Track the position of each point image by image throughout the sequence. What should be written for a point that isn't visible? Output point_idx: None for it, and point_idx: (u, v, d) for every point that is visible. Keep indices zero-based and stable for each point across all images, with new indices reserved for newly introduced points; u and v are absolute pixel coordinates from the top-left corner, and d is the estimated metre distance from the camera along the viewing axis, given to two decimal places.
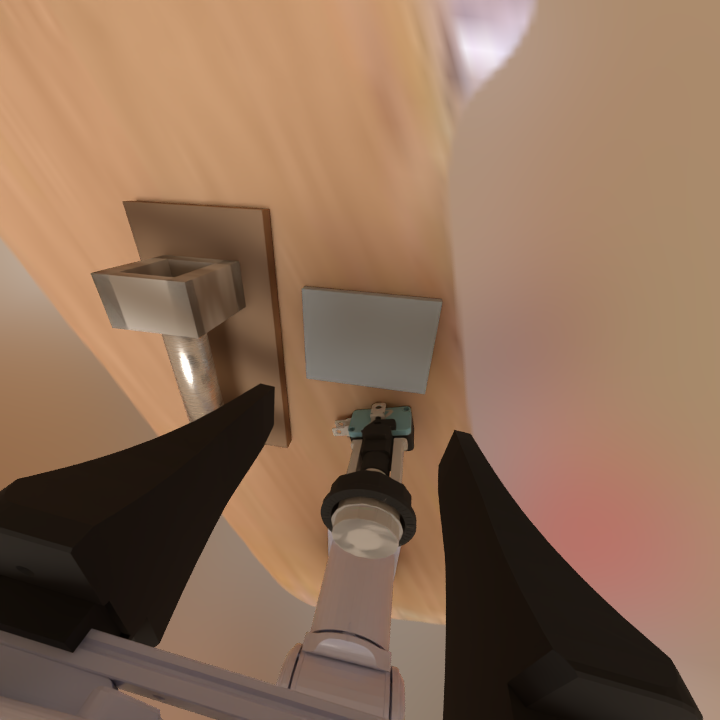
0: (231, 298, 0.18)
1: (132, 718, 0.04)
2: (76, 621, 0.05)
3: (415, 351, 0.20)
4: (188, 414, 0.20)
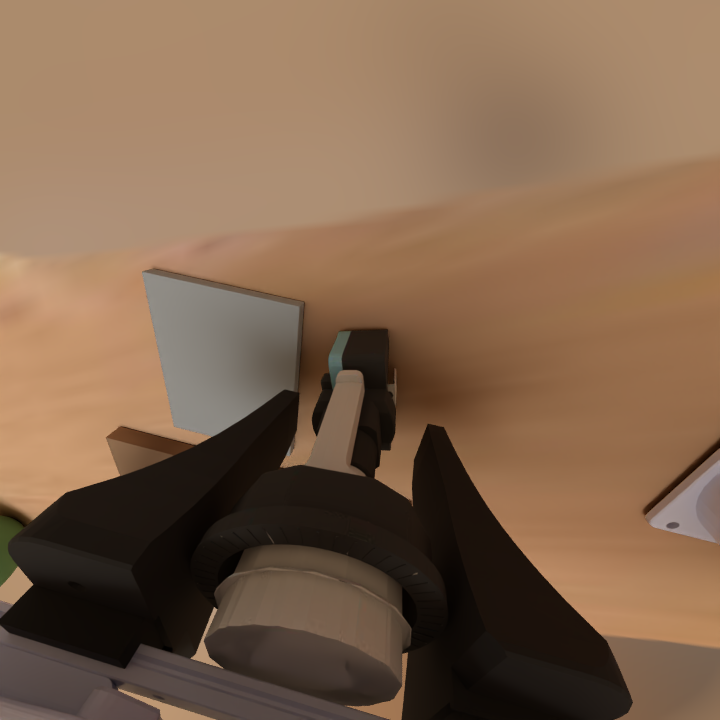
0: None
1: (132, 718, 0.04)
2: (128, 637, 0.05)
3: (223, 314, 0.13)
4: None
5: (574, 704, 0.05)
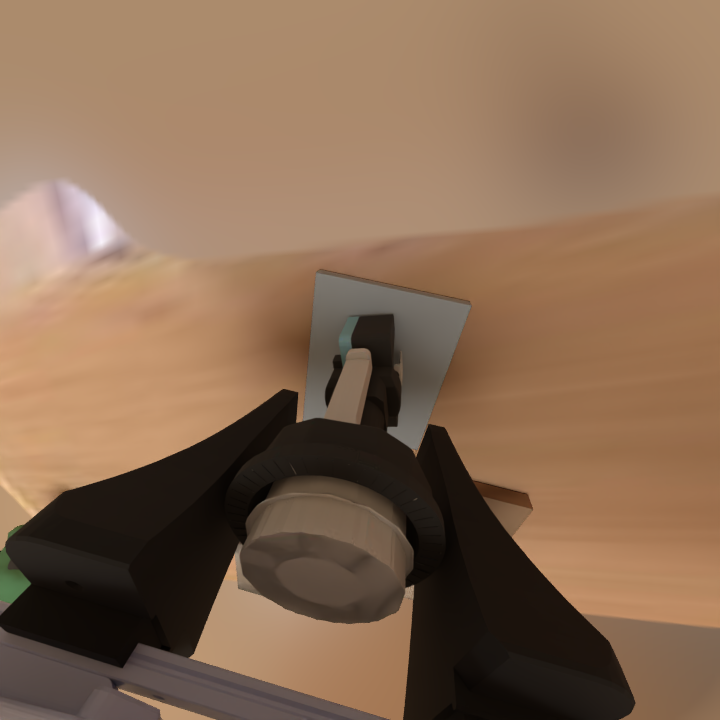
0: None
1: (132, 718, 0.04)
2: (125, 636, 0.05)
3: (389, 313, 0.14)
4: (404, 597, 0.17)
5: (577, 704, 0.05)
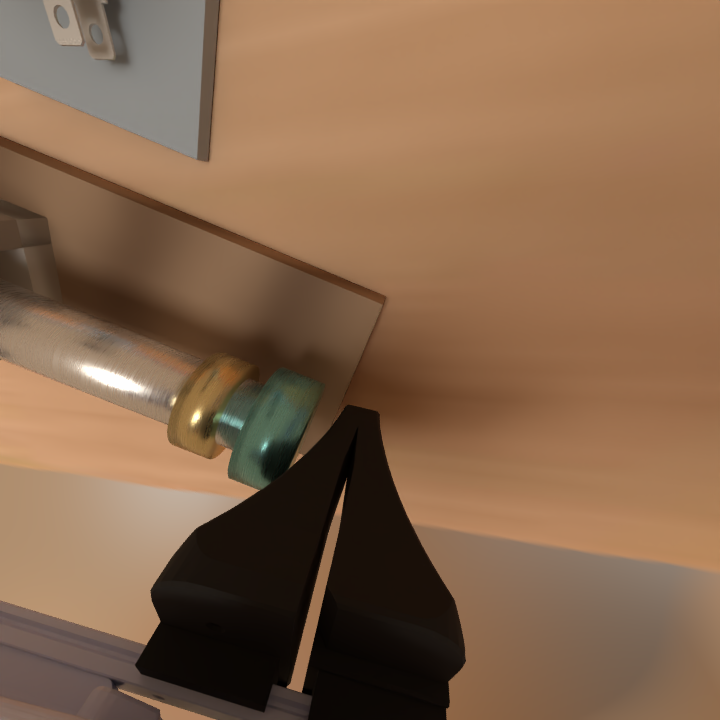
0: None
1: (132, 718, 0.04)
2: (266, 679, 0.05)
3: None
4: (113, 402, 0.09)
5: (417, 658, 0.05)
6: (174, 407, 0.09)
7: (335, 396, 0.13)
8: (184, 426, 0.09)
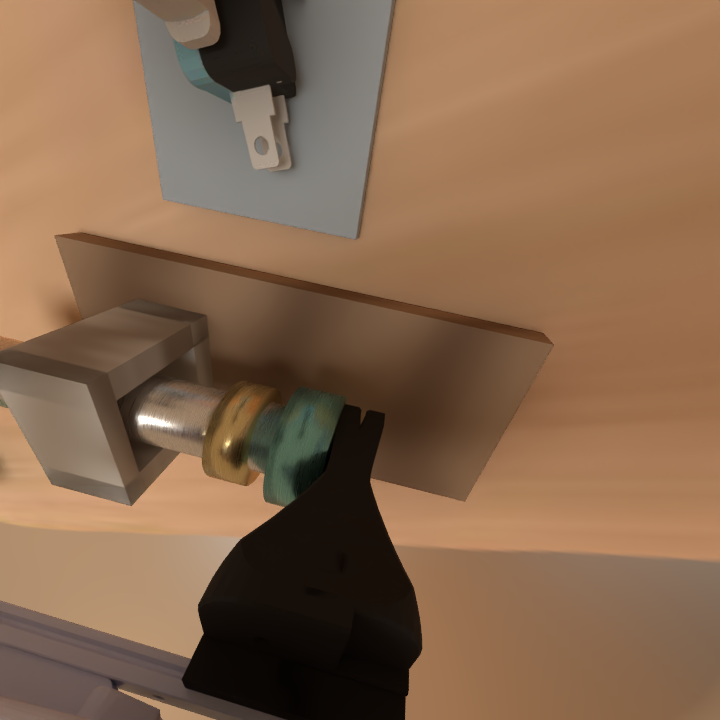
0: (154, 323, 0.11)
1: (132, 718, 0.04)
2: (313, 693, 0.05)
3: None
4: (151, 443, 0.10)
5: (376, 646, 0.05)
6: (205, 440, 0.09)
7: (491, 438, 0.13)
8: (216, 457, 0.09)
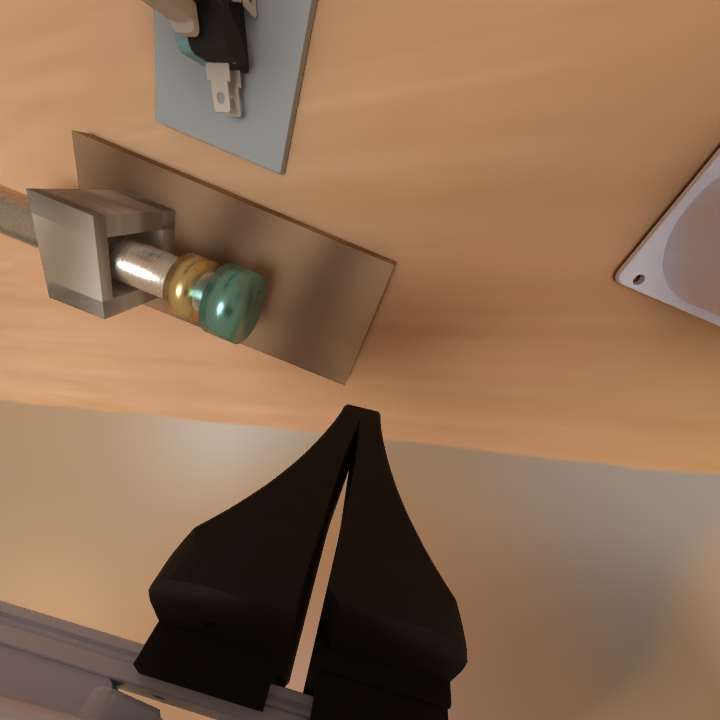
0: (137, 203, 0.16)
1: (132, 718, 0.04)
2: (264, 679, 0.05)
3: None
4: (129, 281, 0.15)
5: (419, 659, 0.05)
6: (166, 276, 0.14)
7: (360, 333, 0.19)
8: (172, 288, 0.14)
